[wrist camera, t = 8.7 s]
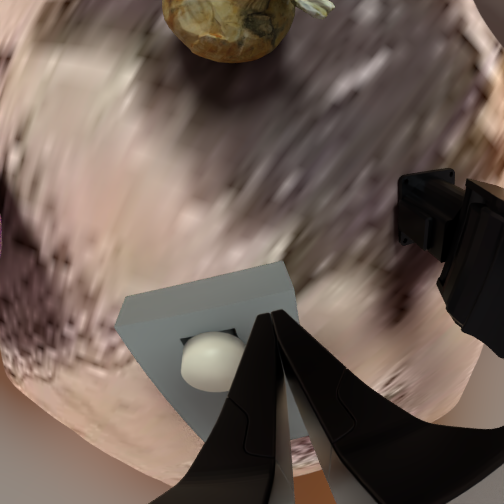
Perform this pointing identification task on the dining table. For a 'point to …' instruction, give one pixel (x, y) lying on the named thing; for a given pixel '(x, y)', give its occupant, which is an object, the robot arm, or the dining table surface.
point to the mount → (201, 321)
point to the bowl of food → (0, 236)
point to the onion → (236, 25)
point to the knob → (212, 360)
